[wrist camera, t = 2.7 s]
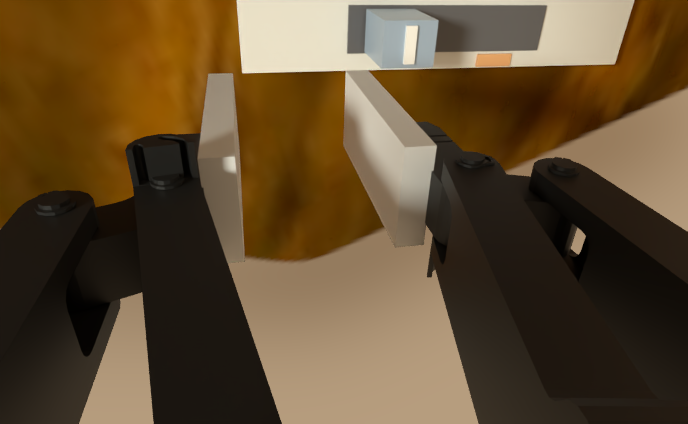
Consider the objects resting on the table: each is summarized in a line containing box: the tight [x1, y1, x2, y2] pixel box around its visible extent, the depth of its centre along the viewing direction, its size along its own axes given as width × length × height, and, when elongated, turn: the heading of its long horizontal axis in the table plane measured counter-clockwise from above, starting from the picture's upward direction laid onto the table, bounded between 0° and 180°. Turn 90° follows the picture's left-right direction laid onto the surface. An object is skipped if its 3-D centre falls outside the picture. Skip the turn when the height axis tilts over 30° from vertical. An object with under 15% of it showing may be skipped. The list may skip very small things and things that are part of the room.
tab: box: [364, 9, 439, 69], centre depth 28 cm, size 3×2×4 cm
